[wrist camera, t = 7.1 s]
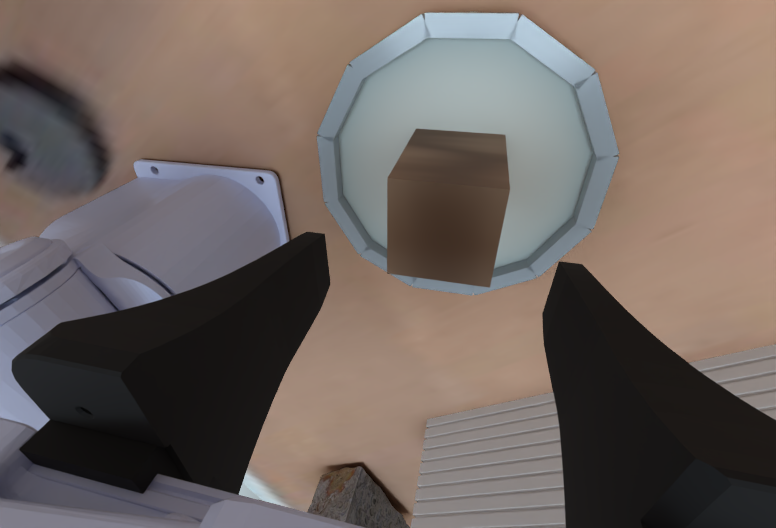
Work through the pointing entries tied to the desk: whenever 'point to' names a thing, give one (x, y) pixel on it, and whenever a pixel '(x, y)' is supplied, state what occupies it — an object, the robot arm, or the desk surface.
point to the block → (447, 206)
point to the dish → (479, 115)
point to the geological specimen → (354, 500)
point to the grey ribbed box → (535, 453)
